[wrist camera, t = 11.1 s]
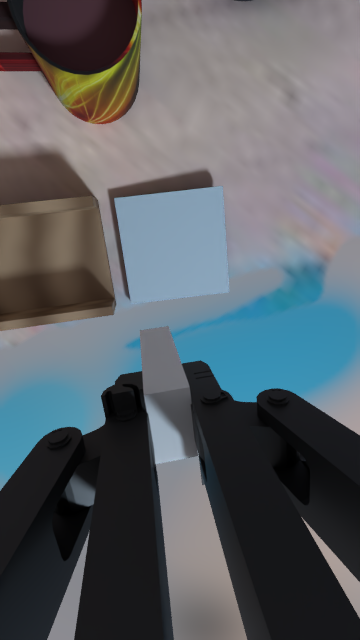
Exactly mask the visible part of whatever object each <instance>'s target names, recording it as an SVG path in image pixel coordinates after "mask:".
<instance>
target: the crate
mask: <svg viewBox="0 0 360 640" xmlns="http://www.w3.org/2000/svg"><path fill="white" fill-rule="evenodd" d="M115 306H116V300H115V295H114V289H113V283H112V278H111V272H110V266H109V261H108V255H107V250H106V244H105V238H104V233H103V227H102V221H101V216H100V210H99V204H98V200H97V199H96V198H94V197H93V196H85V197H75V198H65V199H55V200H46V201H36V202H26V203H16V204H7V205H0V331H3V330H10V329H17V328H24V327H31V326H38V325H45V324H52V323H59V322H66V321H73V320H80V319H87V318H94V317H101V316H108V315H114V311H115Z"/></svg>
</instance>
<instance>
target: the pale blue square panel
mask: <svg viewBox="0 0 360 640" xmlns="http://www.w3.org/2000/svg"><path fill="white" fill-rule="evenodd" d="M114 201H115V207H116V213H117V219H118V226H119V232H120V238H121V244H122V250H123V256H124V263H125V269H126V275H127V281H128V287H129V294H130V300H131V304H135V303H143V302H152V301H160V300H168V299H177V298H185V297H193V296H201V295H210V294H218V293H227V292H229V278H228V262H227V247H226V231H225V215H224V199H223V186H218V187H209V188H200V189H191V190H182V191H174V192H165V193H156V194H147V195H138V196H129V197H120V198H114Z"/></svg>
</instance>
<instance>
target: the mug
mask: <svg viewBox="0 0 360 640" xmlns="http://www.w3.org/2000/svg"><path fill="white" fill-rule="evenodd" d="M141 18H142V3H141V0H7V2H0V29H18V30H19V32H20V34H21V35H22V37H23V39H24V41H25V42H26V44H27V46H28V47H29V49H30V51H31V53H7V52H0V71H43V73H44V75H45V77H46V78H47V80H48V82H49V83H50V85H51V87H52V89H53V90H54V92H55V94H56V95H57V97H58V98H59V100H60V101H61V103H62V104H63V106H64V107H65V108H66V109H67V110H68V111H69V112H70V113H72V114H73V115H74V116H76V117H77V118H79V119H81V120H83V121H85V122H89V123H93V124H106V123H111V122H113V121H116V120H118V119H119V118H121V117H122V116H123V115H125V114H126V113H127V112H128V110H129V109H130V108H131V106H132V105H133V103H134V101H135V99H136V95H137V92H138V87H139V72H140V45H141Z"/></svg>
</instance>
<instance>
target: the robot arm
mask: <svg viewBox="0 0 360 640" xmlns="http://www.w3.org/2000/svg"><path fill="white" fill-rule="evenodd" d="M236 1H251V0H236ZM140 341H141V358H142V371H141V372H134V373H128V374H122V375H120V376H119V377H118V379H117V380H116V381H115V385H113V386H111V387H109V388H107V389H106V390H105V391H104V392H103V393H102V395H101V399H102V403H103V408H104V412H105V417H106V421H105V424H104V425H103V426H102V427H100V428H99V429H97V430H95V431H92V432H90V433H88V434H85V435H82V433H81V431H80V430H79V429H77V428H75V427H65V428H59V429H57V430H54V431H52V432H50V433H49V434H47V435H45V436H44V437H43V438H42V439H41V440H40V441H39V442H38V443H37V444H36V445H35V447H34V448H33V449H32V451H31V452H30V453H29V455H28V456H27V457H26V458H25V460H24V461H23V462H22V464H21V465H20V466H19V468H18V469H17V470H16V471H15V473H14V474H13V475H12V476H11V478H10V479H9V480H8V482H7V483H6V484H5V486H4V487H3V488H2V490H1V491H0V640H47V638H48V636H49V633H50V631H51V628H52V625H53V623H54V620H55V618H56V615H57V612H58V610H59V607H60V605H61V602H62V600H63V597H64V595H65V592H66V589H67V587H68V584H69V582H70V579H71V576H72V574H73V571H74V569H75V566H76V564H77V561H78V558H79V556H80V553H81V551H82V548H83V546H84V543H85V541H86V538H87V536H88V533H89V530H90V533H89V540H88V547H87V554H86V562H85V568H84V575H83V582H82V589H81V596H80V603H79V610H78V617H77V624H76V631H75V638H74V640H174V637H173V627H172V617H171V607H170V597H169V587H168V577H167V567H166V557H165V547H164V536H163V527H162V516H161V506H160V496H159V486H158V477H157V471H156V464H160V463H165V462H170V461H175V460H180V459H185V458H190V457H195V456H198V453H199V461H200V470H201V479H202V485H204V484H205V486H206V490H207V493H208V497H209V501H210V505H211V508H212V512H213V515H214V519H215V523H216V526H217V530H218V534H219V537H220V541H221V545H222V548H223V552H224V555H225V559H226V563H227V567H228V570H229V573H230V578H231V581H232V585H233V588H234V592H235V596H236V600H237V603H238V607H239V610H240V614H241V617H242V621H243V625H244V629H245V632H246V636H247V640H360V618H359V617H358V615H357V613H356V611H355V610H354V608H353V606H352V604H351V603H350V601H349V599H348V598H347V596H346V594H345V592H344V591H343V589H342V587H341V585H340V584H339V582H338V580H337V578H336V577H335V575H334V573H333V572H332V570H331V568H330V566H329V565H328V563H327V561H326V559H325V558H324V556H323V554H322V552H321V551H320V549H319V547H318V545H317V544H316V542H315V540H314V539H313V537H312V535H311V533H310V531H309V530H308V528H307V526H306V525H305V523H304V521H303V519H304V520H305V521H306V522H307V523H308V524H309V526H310V527H311V528H312V529H313V530H314V531H315V532H316V534H317V535H318V536H319V537H320V538H321V539H322V540H323V541H324V542H325V544H326V545H327V546H328V547H329V548H330V549H331V550H332V551H333V553H335V555H336V556H337V557H338V558H339V559H340V560H341V561H342V563H343V564H344V565H345V566H346V567H347V568H348V569H349V571H350V572H351V573H352V574H353V575H354V576H355V577H356V578H357V580H358V581H360V435H358V434H357V433H355V432H353V431H352V430H350V429H349V428H347V427H346V426H344V425H343V424H341V423H339V422H338V421H336V420H335V419H333V418H332V417H330V416H329V415H327V414H326V413H324V412H322V411H321V410H319V409H318V408H316V407H315V406H313V405H311V404H310V403H308V402H307V401H305V400H304V399H302V398H301V397H299V396H297V395H296V394H294V393H292V392H290V391H287V390H283V389H269V390H265V391H263V392H261V393H259V395H258V396H257V402H239V401H234V400H233V398H232V396H231V395H230V394H229V393H228V392H226V391H224V390H221V388H220V386H219V384H218V382H217V380H216V379H215V377H214V375H213V373H212V371H211V369H210V367H209V366H208V364H206V363H204V362H202V361H195V362H189V363H183V364H181V361H180V358H179V355H178V352H177V349H176V347H175V344H174V341H173V338H172V335H171V332H170V330H169V327H168V326H166V327H160V328H154V329H147V330H140ZM197 450H198V453H197ZM301 517H302V518H303V519H302V518H301Z"/></svg>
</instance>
